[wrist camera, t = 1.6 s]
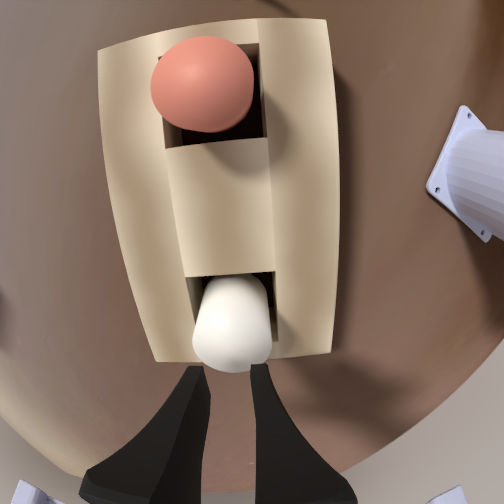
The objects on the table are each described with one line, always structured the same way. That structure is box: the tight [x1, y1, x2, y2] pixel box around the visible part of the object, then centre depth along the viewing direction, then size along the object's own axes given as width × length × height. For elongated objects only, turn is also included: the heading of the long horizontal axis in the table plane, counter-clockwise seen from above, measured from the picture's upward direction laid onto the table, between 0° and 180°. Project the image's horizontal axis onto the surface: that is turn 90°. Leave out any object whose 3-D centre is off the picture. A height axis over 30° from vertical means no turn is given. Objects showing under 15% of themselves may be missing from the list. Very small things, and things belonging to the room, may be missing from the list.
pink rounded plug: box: [150, 36, 254, 133], centre depth 11 cm, size 4×4×4 cm
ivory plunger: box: [192, 273, 272, 373], centre depth 16 cm, size 4×4×4 cm
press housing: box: [98, 18, 340, 362], centre depth 16 cm, size 12×20×4 cm, turn 4°
